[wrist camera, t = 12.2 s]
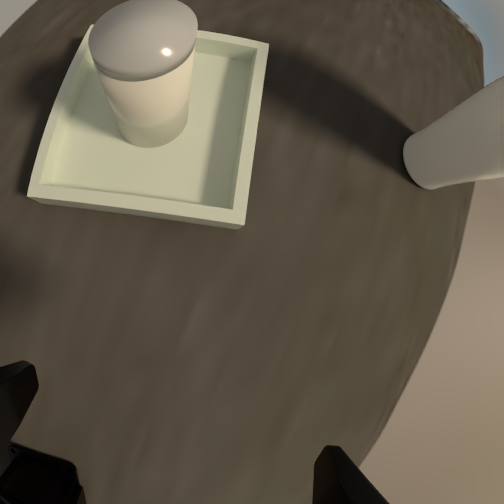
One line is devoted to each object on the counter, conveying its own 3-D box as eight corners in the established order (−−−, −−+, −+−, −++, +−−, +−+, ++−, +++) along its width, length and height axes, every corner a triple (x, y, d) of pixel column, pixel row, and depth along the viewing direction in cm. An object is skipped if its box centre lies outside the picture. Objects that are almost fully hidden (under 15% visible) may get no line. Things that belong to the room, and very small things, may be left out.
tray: (41, 203, 18) (26, 196, 15) (96, 42, 19) (91, 24, 16) (236, 229, 21) (244, 225, 18) (260, 61, 22) (269, 44, 19)
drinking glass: (389, 180, 24) (541, 124, 9) (396, 117, 24) (518, 43, 10) (441, 209, 25) (578, 181, 11) (445, 148, 26) (561, 102, 11)
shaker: (123, 156, 19) (90, 83, 10) (113, 97, 19) (87, 12, 10) (196, 137, 20) (209, 54, 11) (180, 79, 20) (186, -11, 11)
